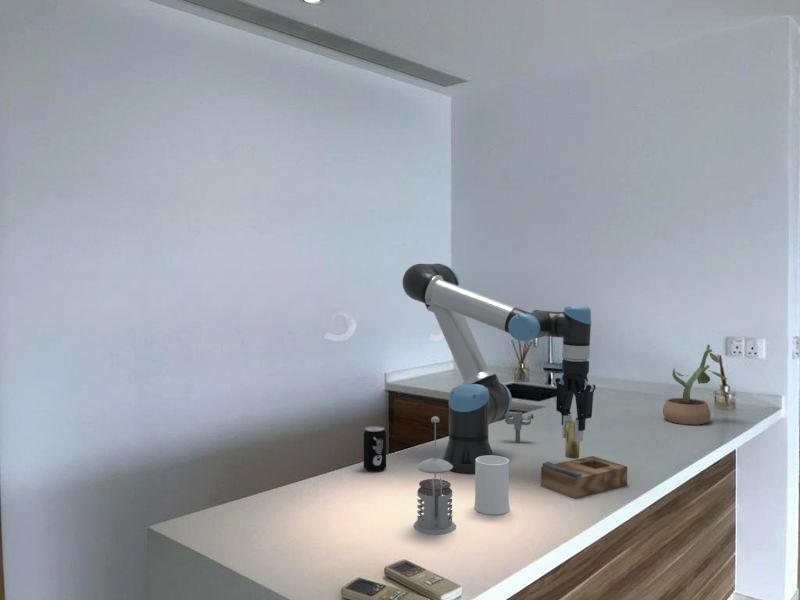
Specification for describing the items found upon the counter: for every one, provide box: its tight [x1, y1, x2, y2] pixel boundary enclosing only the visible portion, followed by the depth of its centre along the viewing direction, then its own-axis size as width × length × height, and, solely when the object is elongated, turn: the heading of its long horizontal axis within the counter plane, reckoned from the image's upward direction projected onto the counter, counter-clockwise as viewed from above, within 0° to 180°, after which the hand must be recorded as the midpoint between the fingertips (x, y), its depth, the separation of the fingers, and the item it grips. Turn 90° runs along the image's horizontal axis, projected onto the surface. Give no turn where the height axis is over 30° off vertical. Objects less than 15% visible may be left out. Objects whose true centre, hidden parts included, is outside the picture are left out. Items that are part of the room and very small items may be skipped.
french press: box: [412, 415, 457, 536], centre depth 146 cm, size 10×12×25 cm
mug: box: [473, 454, 511, 516], centre depth 159 cm, size 12×8×12 cm
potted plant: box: [662, 344, 728, 426], centre depth 250 cm, size 22×18×30 cm
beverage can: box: [363, 425, 387, 473], centre depth 190 cm, size 7×7×12 cm
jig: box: [540, 455, 628, 499], centre depth 176 cm, size 20×12×6 cm, turn 122°
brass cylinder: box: [564, 420, 581, 460], centre depth 189 cm, size 4×4×10 cm
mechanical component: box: [504, 411, 534, 444], centre depth 220 cm, size 3×10×10 cm, turn 79°
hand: (572, 439), depth 189 cm, fingers closed on brass cylinder, 4 cm apart
